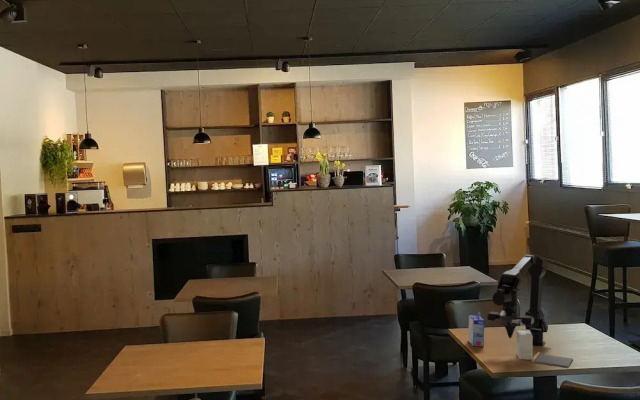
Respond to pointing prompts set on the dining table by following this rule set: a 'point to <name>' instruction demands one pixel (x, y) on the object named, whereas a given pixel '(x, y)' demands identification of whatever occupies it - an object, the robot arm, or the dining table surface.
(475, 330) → the ink cartridge box
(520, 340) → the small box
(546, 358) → the mat
